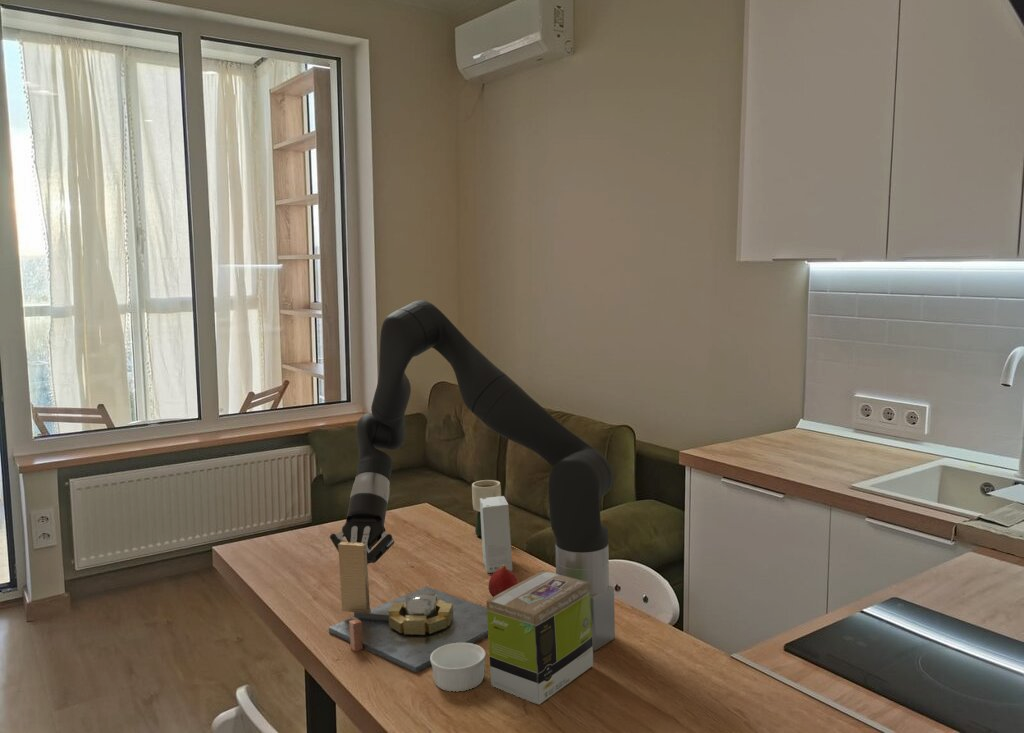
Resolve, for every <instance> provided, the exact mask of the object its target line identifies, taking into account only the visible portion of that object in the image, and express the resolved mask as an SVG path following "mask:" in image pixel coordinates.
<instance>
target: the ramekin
mask: <svg viewBox="0 0 1024 733" xmlns="http://www.w3.org/2000/svg"><path fill="white" fill-rule="evenodd" d="M486 655H487V654H486V650H485V649H484V648H483V647H482V646H480V645H478V644H475V643H473V644H472V643H452V644H447V645H444V646H441V647H439V648H437V649H436V650H434V651H433V652H432V654H431V656H430V661H431V664H432V665H431V667H432V674H433V681H434V683H435V685H436V686H437V687H438V688H439V689H440V690H443V691H447V692H451V691H453V692H454V693H456V692H457V693H460V692H459V691H461V692H467V691H470V690H472V688H473V689H475V688H477V687H478V686H480V684H481V683H482V682H483V679H484V677H485V661H486V660H485V659H486ZM469 689H470V690H469ZM466 690H467V691H466ZM455 691H456V692H455ZM453 692H452V693H453Z"/></svg>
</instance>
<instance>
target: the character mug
mask: <svg viewBox="0 0 1024 733" xmlns="http://www.w3.org/2000/svg"><path fill="white" fill-rule="evenodd" d="M471 494H472V495H471V496H472V508H473V511H476V512H477V513H476V517H475V518H476V519H475V535H476V536H479V537H482V533H481V515H480V498H489V497H498V496H502V486H501V482H500V481H499V480H495V479H484V480H477V481H475V482H473V483H471Z"/></svg>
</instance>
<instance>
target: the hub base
mask: <svg viewBox="0 0 1024 733" xmlns="http://www.w3.org/2000/svg"><path fill="white" fill-rule="evenodd" d="M436 595H437V601H438V600H442V601H444V602H446V603H453V619H452V621H451V623H450V626H447V628H444V629H442V630H439V631H436V632H433V633H431V634H429V633H427V632H426V634H425V635H418V634H404V632H403V633H399V632H398V631H396V630H394V629H393V628H391V627H390V625H389V620H378V619H366V618H354V616H352V617H350V618H348V619H345V620H343V621H340V622H338V623H335V624H334V625H331V626H329V627H328V633H329V634H332V635H333V636H336V637H338V638H340V639H342V640H344V641H346V642H347V643H348V642H349V643H350V649H351V650H352V651H353V652H358V651H361V650H366V651H367V652H370V653H372V654H374V655H376V656H379V657H381V658H382V659H384V660H387V661H389V662H392V663H394V664H396V665H398V666H400V667H401V668H404V669H407V670H408V671H410V672H413V673H415V674H417V673H419V672H421V671H423V670H425V669H426V668H429V667H430V665H431V666H432V664H431V661H430V656H431V654H432V652H433V651H434V650H436V649H437V648H439V647H441V646H444V645H447V644H452V643H472V644H475V643H477V642H478V641H480V640H482V639H484V638H486V637H488V620H487V606H486V607H485V606H483V605H481V604H478V603H475V602H472V601H469V600H466V599H463V598H460V597H458V596H455V595H451V594H449V593H447V592H444V591H441V590H439V589H435V588H432V587H430V586H424V587H421V588H419V589H416V590H413V591H410V592H408V593H407V594H405V595H402V596H400V597H398V598H395V599H393V600H391V601H388V602H385V603H383V604H381V605H379V606H376V607H373V608H370V609H371V610H384V611H389V609H390V608H391V606H392V605H393V603H394V602H396V603H404V602H405V608H406V615H411V616H427V619H429V618H432V617H435V616H438V615H437V614H436Z"/></svg>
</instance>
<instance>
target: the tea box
mask: <svg viewBox="0 0 1024 733" xmlns="http://www.w3.org/2000/svg"><path fill="white" fill-rule="evenodd" d="M486 608H487V620H488V636H487V638H488V650H489V651H488V654H489V656H488V657H489V673H490V685H491V686H492V687H493V688H494V687H496V688H495V689H497V688H498V689H497V690H499V689H501V690H500V691H502V690H504V691H506V692H505V693H507V692H508V693H507V694H509V693H510V695H512V694H513V695H512V696H514V695H515V696H514V697H517V698H519V697H520V699H523V700H524V699H525V701H527V702H530V703H532V704H535V705H541V704H542V703H544V702H545V701H546V700H548V699H550V697H552V696H553V695H555V694H556V693H558V692H559V691H560V690H561V689H563V688H564V687H565V686H567V685H568V684H570V683H571V682H573V681H574V680H575V679H577V678H578V677H579V676H581V675H582V674H583V673H585V672H587V671H588V670H589V669H590V668H591V667H593V666H594V650H593V645H592V621H591V602H590V583H589V582H587V581H583V580H579V579H574V578H570V577H566V576H562V575H558V574H556V573H555V572H554V573H553V572H550V571H545V570H540V571H539V572H537V573H535V574H533V575H531V576H529V577H528V578H526V579H524V580H523V581H520V582H518V584H516V585H514V586H512V587H510V588H509V589H507V590H505V591H503V592H501V593H499V594H498V595H496V596H494V597H492V596H491V598H490V597H489V598H488V599H487V600H486ZM504 691H503V692H504Z"/></svg>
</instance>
